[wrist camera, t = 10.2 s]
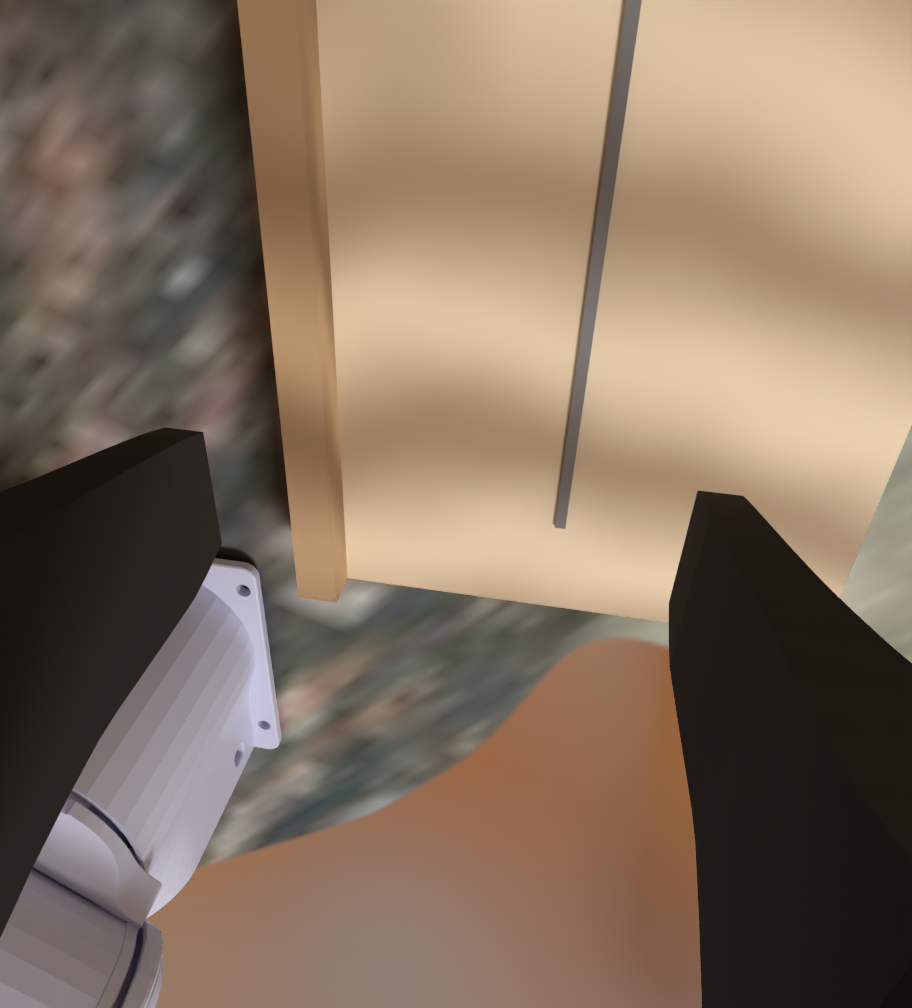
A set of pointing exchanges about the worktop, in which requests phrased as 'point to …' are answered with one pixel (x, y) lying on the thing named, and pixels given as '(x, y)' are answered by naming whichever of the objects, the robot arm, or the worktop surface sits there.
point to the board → (580, 282)
